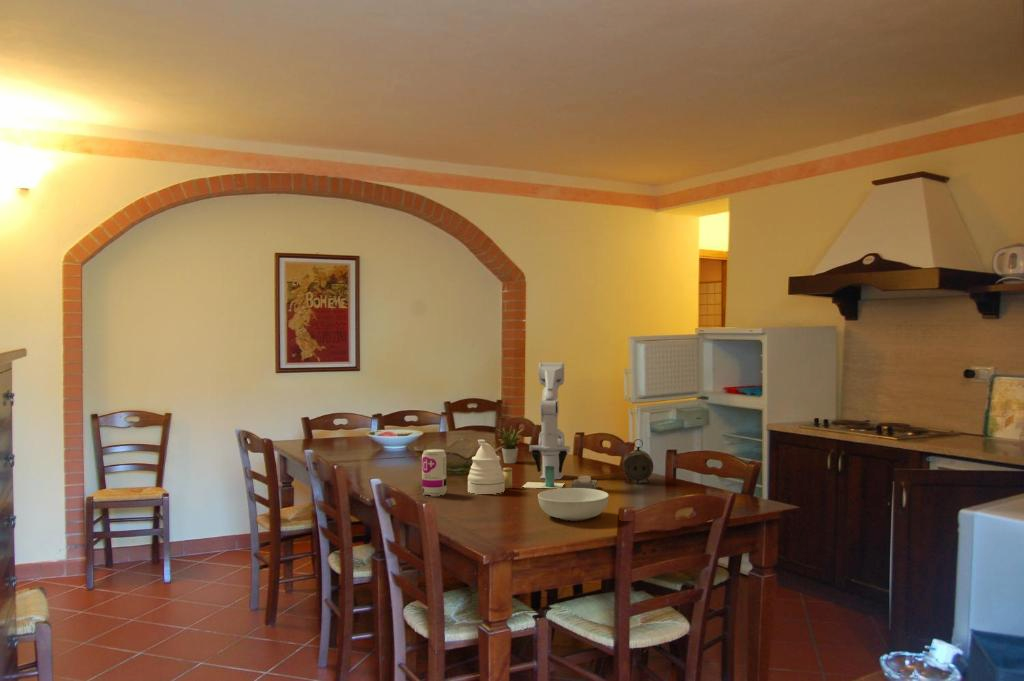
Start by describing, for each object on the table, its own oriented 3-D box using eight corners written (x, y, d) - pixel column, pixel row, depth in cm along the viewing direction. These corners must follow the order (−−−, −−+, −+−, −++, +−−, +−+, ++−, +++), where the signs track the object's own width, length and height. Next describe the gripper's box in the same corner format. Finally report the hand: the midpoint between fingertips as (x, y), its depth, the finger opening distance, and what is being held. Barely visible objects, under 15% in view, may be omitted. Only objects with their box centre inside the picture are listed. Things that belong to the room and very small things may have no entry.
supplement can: (434, 497, 250) (434, 452, 250) (417, 494, 255) (417, 450, 255) (451, 493, 256) (451, 450, 256) (433, 491, 261) (433, 448, 261)
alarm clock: (652, 482, 276) (652, 438, 276) (653, 485, 271) (653, 440, 271) (622, 481, 277) (622, 438, 277) (623, 484, 272) (623, 439, 272)
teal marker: (545, 485, 269) (545, 465, 269) (554, 485, 269) (554, 465, 269) (544, 486, 266) (544, 467, 266) (553, 487, 265) (553, 467, 266)
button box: (574, 486, 269) (574, 479, 269) (597, 486, 267) (596, 480, 267) (571, 490, 261) (571, 483, 261) (594, 491, 259) (594, 484, 259)
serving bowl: (564, 506, 236) (564, 484, 236) (622, 516, 222) (622, 493, 222) (523, 518, 219) (523, 495, 219) (582, 529, 206) (582, 504, 206)
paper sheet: (527, 482, 276) (527, 481, 276) (564, 484, 273) (564, 483, 273) (521, 487, 266) (521, 487, 266) (560, 489, 263) (560, 488, 263)
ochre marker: (504, 487, 268) (503, 467, 268) (513, 487, 267) (512, 467, 267) (501, 488, 265) (501, 468, 265) (511, 489, 264) (510, 469, 264)
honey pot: (482, 496, 252) (482, 443, 252) (460, 490, 262) (460, 439, 262) (512, 491, 260) (511, 439, 260) (489, 486, 270) (489, 436, 270)
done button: (579, 483, 267) (579, 475, 267) (591, 484, 266) (591, 475, 266) (577, 486, 263) (577, 477, 263) (589, 486, 262) (589, 478, 262)
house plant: (485, 464, 319) (485, 426, 319) (496, 459, 332) (496, 422, 333) (517, 465, 315) (517, 427, 315) (527, 460, 328) (527, 423, 328)
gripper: (527, 434, 265) (527, 473, 265) (568, 435, 262) (568, 474, 262) (531, 432, 272) (531, 469, 272) (570, 433, 269) (571, 471, 269)
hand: (549, 471), depth 268 cm, fingers open, 7 cm apart
